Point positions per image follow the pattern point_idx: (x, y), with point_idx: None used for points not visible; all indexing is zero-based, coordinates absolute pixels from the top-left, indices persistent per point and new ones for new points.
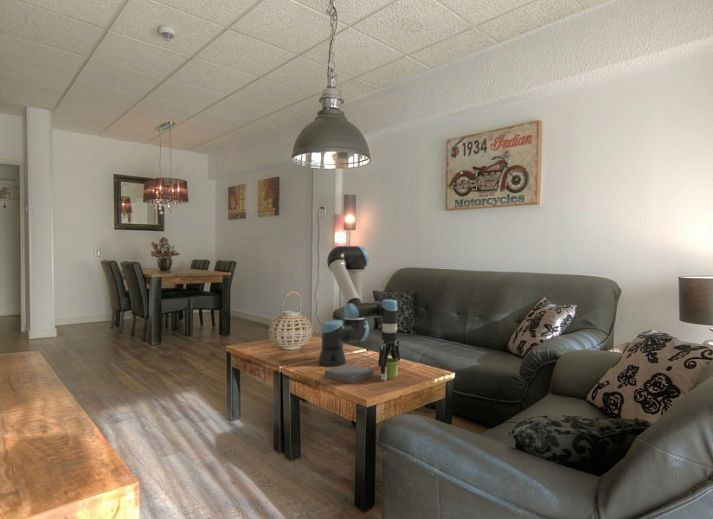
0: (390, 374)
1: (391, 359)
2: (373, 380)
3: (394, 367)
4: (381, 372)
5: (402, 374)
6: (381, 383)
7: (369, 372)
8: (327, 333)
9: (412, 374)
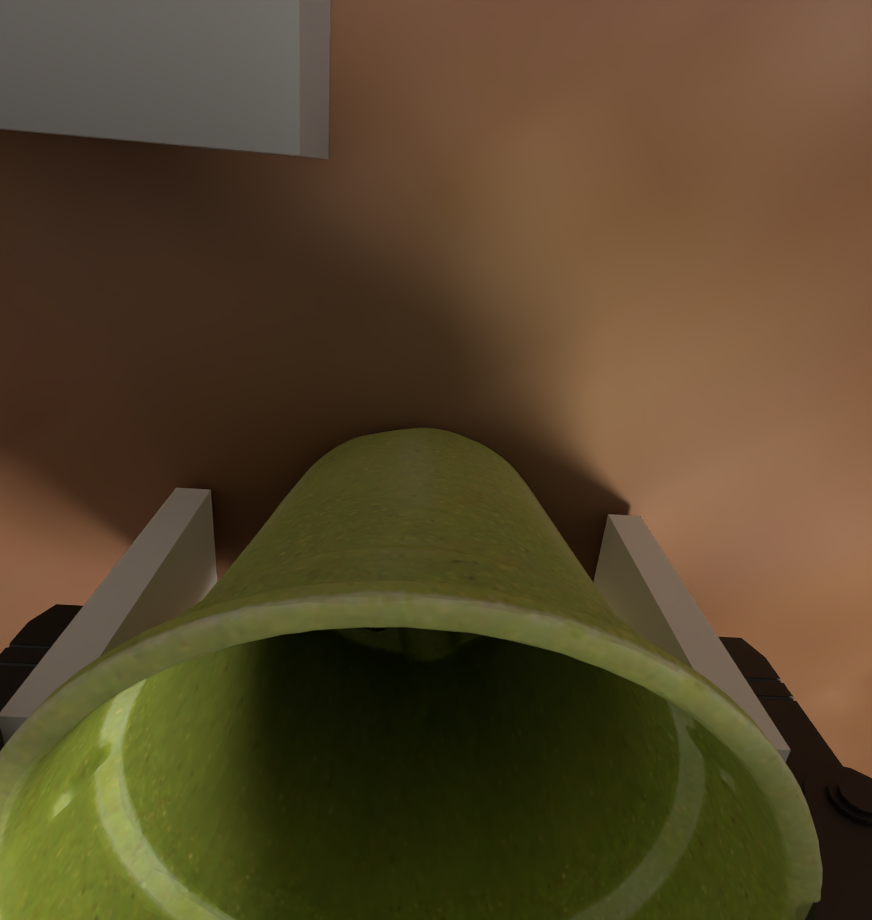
0: (284, 700)
1: (757, 844)
2: (38, 359)
3: (328, 911)
4: (31, 637)
5: (777, 625)
6: (14, 584)
7: (74, 133)
8: None
9: (844, 744)
